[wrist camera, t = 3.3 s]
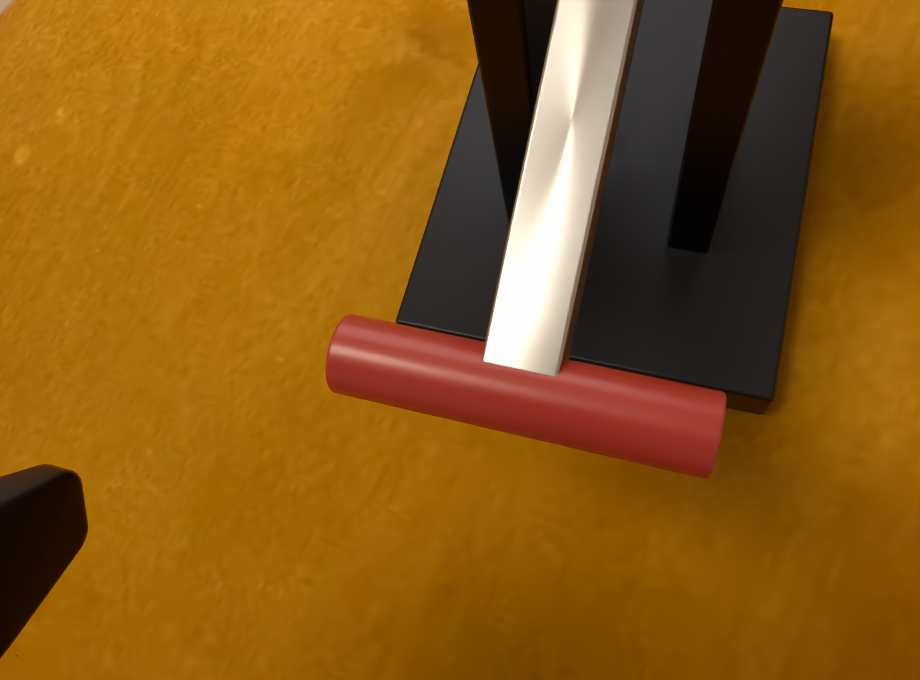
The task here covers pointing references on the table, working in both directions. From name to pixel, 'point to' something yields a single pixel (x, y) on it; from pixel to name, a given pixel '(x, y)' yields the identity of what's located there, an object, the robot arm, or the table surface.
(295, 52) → the table surface
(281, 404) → the table surface
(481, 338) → the bracket
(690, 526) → the table surface
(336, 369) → the lever
